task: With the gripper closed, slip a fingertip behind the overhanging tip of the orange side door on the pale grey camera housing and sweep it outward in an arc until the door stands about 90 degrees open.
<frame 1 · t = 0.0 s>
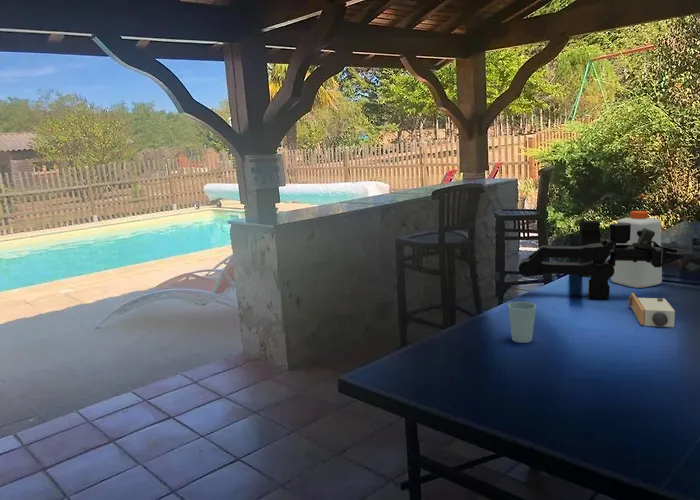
hand: (680, 253, 194), 17 cm above the table, tool horizontal, fingers open, 9 cm apart
side door: (635, 308, 182), point 3 cm above the table, hinge at 0.0°
camera housing: (654, 319, 178), on the table
plastic bottle: (635, 283, 222), on the table
portable radio: (588, 275, 239), on the table
cup: (521, 340, 166), on the table
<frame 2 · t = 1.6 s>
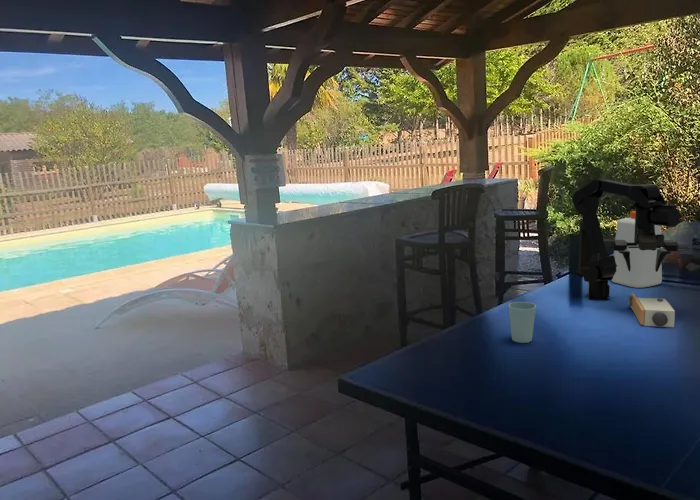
hand: (642, 271, 186), 13 cm above the table, tool pointing down, fingers open, 8 cm apart
nothing on the table moved.
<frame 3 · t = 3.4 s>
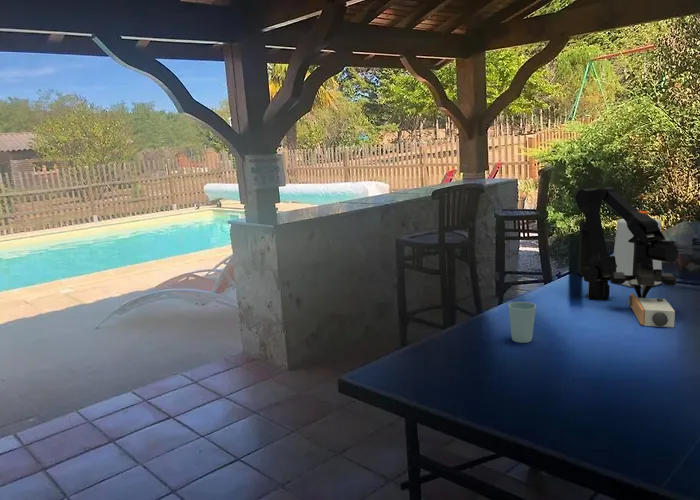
hand: (640, 303, 188), 2 cm above the table, tool pointing down, fingers closed
side door: (635, 308, 182), point 3 cm above the table, hinge at 0.0°, touching gripper
everything else where it was.
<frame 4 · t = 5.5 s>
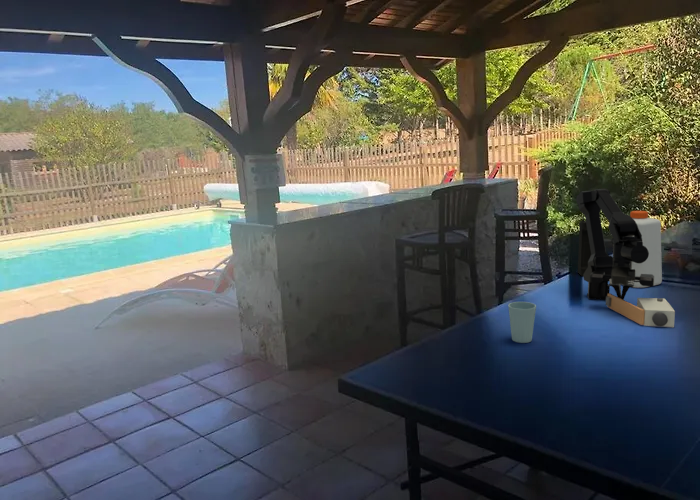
hand: (620, 303, 189), 2 cm above the table, tool pointing down, fingers closed
side door: (623, 308, 182), point 3 cm above the table, hinge at 22.0°, touching gripper
everything else where it was.
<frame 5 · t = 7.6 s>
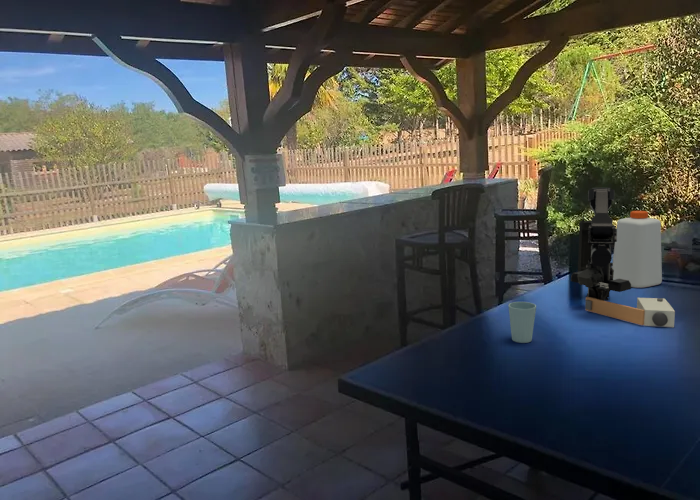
hand: (599, 306, 187), 2 cm above the table, tool pointing down, fingers closed, pressing on side door
side door: (612, 310, 181), point 3 cm above the table, hinge at 48.1°, touching gripper
everything else where it was.
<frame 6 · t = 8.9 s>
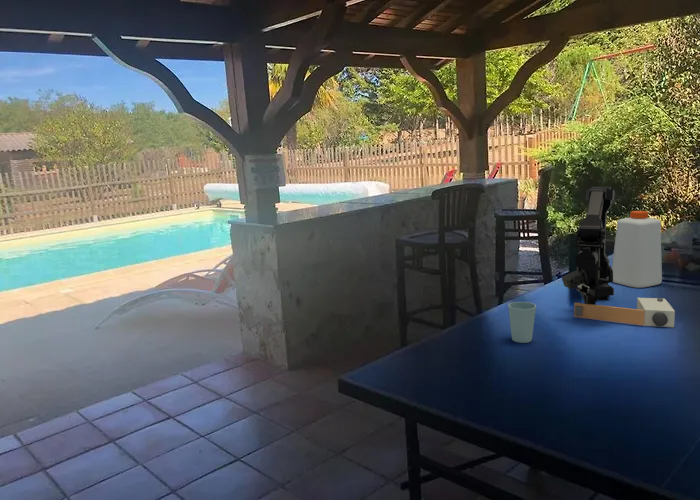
hand: (588, 310, 183), 2 cm above the table, tool pointing down, fingers closed
side door: (607, 313, 177), point 3 cm above the table, hinge at 73.9°, touching gripper
everything else where it was.
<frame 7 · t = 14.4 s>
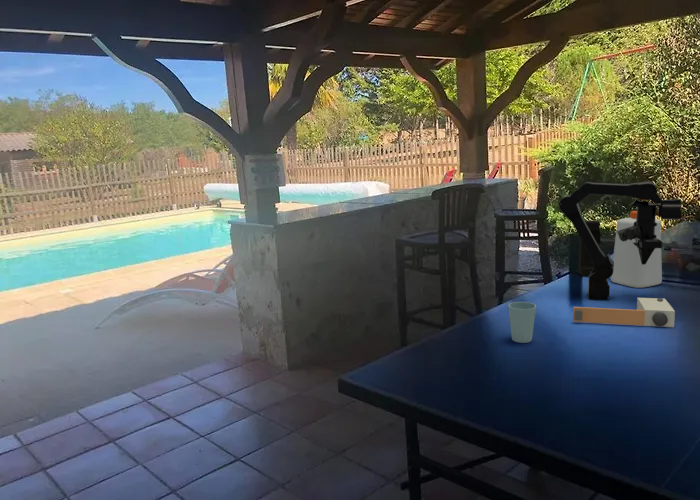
hand: (643, 264, 196), 13 cm above the table, tool pointing down, fingers closed
side door: (608, 316, 175), point 3 cm above the table, hinge at 88.8°
everything else where it was.
at the end: side door at +89° (first picture: +0°) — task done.
